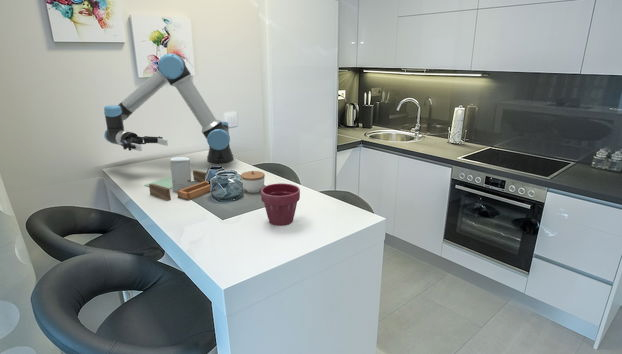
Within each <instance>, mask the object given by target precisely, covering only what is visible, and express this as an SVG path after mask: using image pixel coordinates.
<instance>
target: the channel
mask: <svg viewBox="0 0 622 354" xmlns="http://www.w3.org/2000/svg"><path fill="white" fill-rule="evenodd" d="M206 173H207V172H205V171H201V170H198V169H193V170H192V175H193V178H192V179H193V181H195V182H198V183H201V182H204V181H205V175H206ZM150 183H151V184H149V183H148V184H149V187H148V188H149V195H150V196H153V197H154V198H158V199H162V200H164V201H170V200H171V199H172V198H171V189H169V188H166V187H162V186H159V185H156V184H153V183H152V182H150Z"/></svg>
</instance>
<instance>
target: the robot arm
mask: <svg viewBox="0 0 622 354" xmlns="http://www.w3.org/2000/svg"><path fill="white" fill-rule="evenodd" d="M157 65H158V66H157V67H156V71H155V72H154V73H153V74H151V75H150V76H149V77H148V78H147V79H145V81H144V82H142V84H140V85H139V86H138V87H137V88H136V89H135V90H134V91H132V92H131V93H130V94H128V96H126V98H124V99H123V100H122V101H121V102H120V103H118V104H115V105H114V104H113V105H112V104H111V105H105V106H104V108H103V111H104V113H103V114H104V117H105V123H106V130H105V132H104V134H103V136H104V138H105V140H106V141H107V142H108V143H110V144H113V145H114V144H115V145H119V146H121V147H122V148H123V150H127V149H128V151H132V150H134V151H138V152H142V151H143V149H142V145H146V144H158V145H163V146H166V147H167V146H168V139H165V138H163V136H148V135H145V136H138V135H139V134H137V133H135V132H132V131H128V130H125V128H124V127H125V126H124V121H126V120H127V119H128V118H129V117H130V116H131V115H132V114H133V113H134V112H136V110H138V109H139V108H140V107H141V106H142V105H143V104H145V103H146V102H147V101H148V100H149V99H151V97H153V96H154V95H155V94H156V93H157V92H159V90H160V89H162V88H163V87H164V86H165V85H166V84H167V83H169V85H170V86H171V87H174V88H175V89H176V90H177V92H178V93H179V95H180V96H181V97H182V99H183V101H184V102H185V104H186V105H187V107H189V110H190V111H191V113H192V114H193V116H194V117H195V119H196V120H197V122H198V123H199V125H200V126H201V133H202V134H203V136H204V138H205V139H206V142H207V144H208V146H209V147H208V148H209V149H208V152H207V156H206V159H207V162H209V163H210V164H211V163H212V164H224V163H226V164H227V163H229V162H232V161H234V154H233V152H232V150H231V146H230V142H231V137H230V132H229V128H230V127H229V122H227V121H221V120H220V119H217V118H216V117H215V115H214V114H213V112H212V110H211V109H210V107H209V106H208V104H207V103H206V101H205V100H204V98H203V96H202V95H201V93H200V91H199V90H198V89H197V87H196V85H195V84H194V82H193V81H192V79H191V77H192V74H191V71H190V70H189V69H188V67H187V65H186V61H185V60H184V59H183V57H181V56H180V55H178V54H177V53H172V52H171V53H170V52H168V53H166V54H163V55H162V56H161V57H160V59H159V60H158V64H157Z"/></svg>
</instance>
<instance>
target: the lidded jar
mask: <svg viewBox="0 0 622 354" xmlns="http://www.w3.org/2000/svg"><path fill="white" fill-rule="evenodd" d="M265 177H266V175H265V173H264V172H263V171H258V170H251V171H245V172H242V173H241V174H240V178H241V179H242V180H241V179H240V180H241V183H242V182H243V185H242V187H243V188H244V190H246V192H248V193H258V192H260V191H261V189H262V188H263V187H264V185H265Z"/></svg>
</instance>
